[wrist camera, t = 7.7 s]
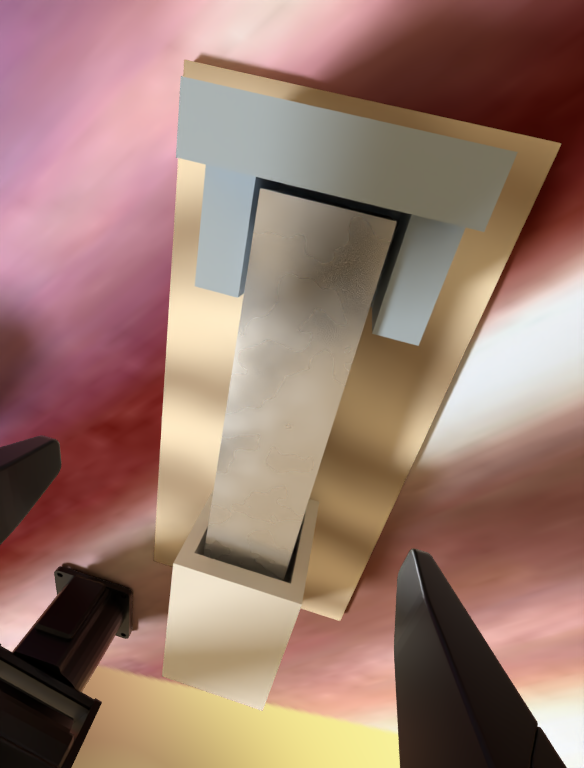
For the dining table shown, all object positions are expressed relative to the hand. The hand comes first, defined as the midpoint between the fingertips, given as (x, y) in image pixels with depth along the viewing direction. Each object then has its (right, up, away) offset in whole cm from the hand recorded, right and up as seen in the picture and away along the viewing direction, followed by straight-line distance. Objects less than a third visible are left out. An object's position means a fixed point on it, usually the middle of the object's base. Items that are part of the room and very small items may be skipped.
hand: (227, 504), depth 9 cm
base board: (+1, +1, +12) cm, 12 cm away
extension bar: (+2, +2, +9) cm, 9 cm away
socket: (+3, +9, +7) cm, 12 cm away
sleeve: (-1, -7, +16) cm, 17 cm away
